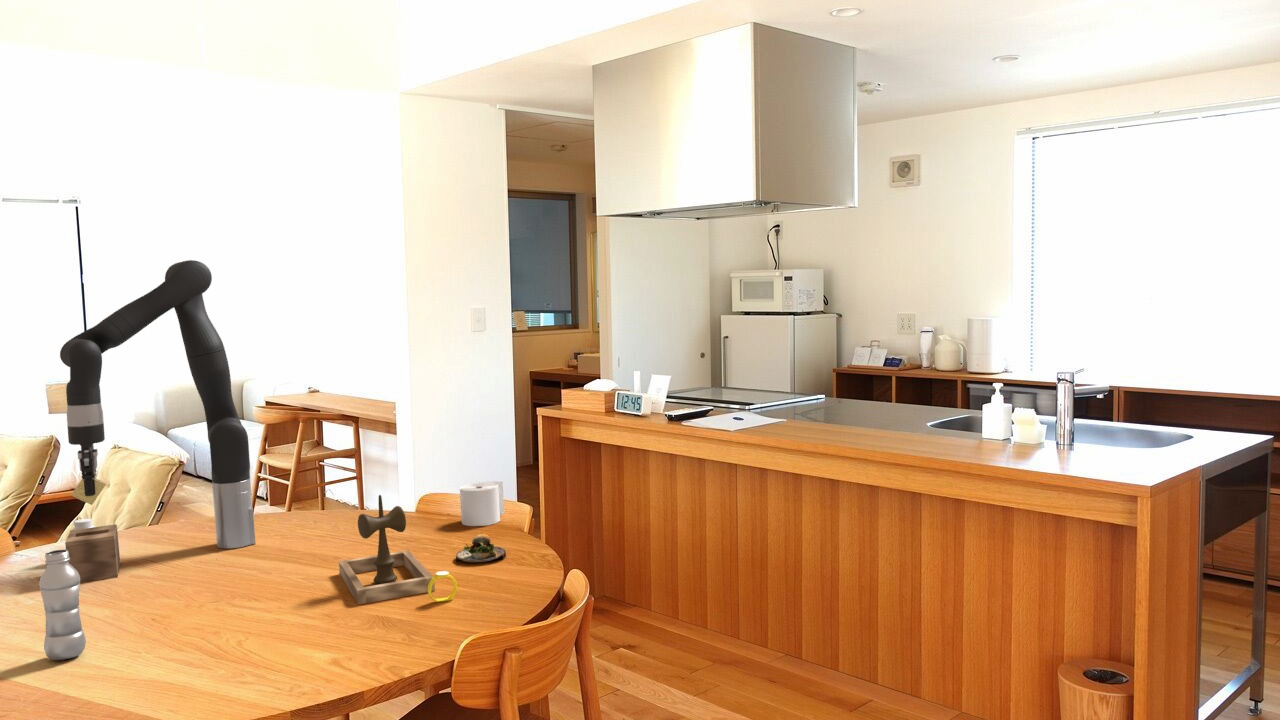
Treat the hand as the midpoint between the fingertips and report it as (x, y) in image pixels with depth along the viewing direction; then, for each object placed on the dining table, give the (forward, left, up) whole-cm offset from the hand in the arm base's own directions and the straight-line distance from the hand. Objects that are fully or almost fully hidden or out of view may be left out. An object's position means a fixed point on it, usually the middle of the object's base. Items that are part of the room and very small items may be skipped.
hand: (90, 494), depth 231 cm
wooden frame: (-59, +46, -20) cm, 78 cm away
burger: (-83, +40, -20) cm, 95 cm away
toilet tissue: (-94, +4, -20) cm, 96 cm away
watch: (-67, +66, -20) cm, 97 cm away
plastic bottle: (+2, +59, -20) cm, 62 cm away
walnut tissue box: (+1, -1, -20) cm, 20 cm away
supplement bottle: (+4, -17, -20) cm, 26 cm away
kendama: (-59, +46, -20) cm, 78 cm away
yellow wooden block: (+2, 0, -1) cm, 2 cm away
